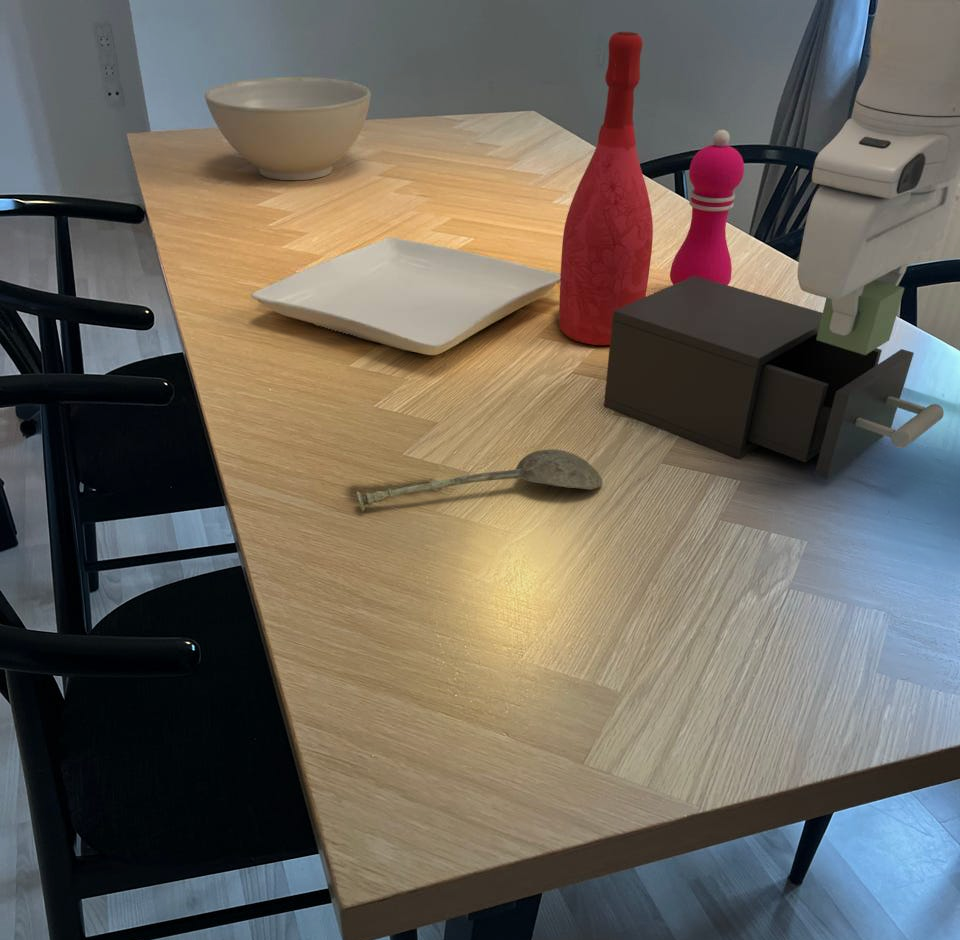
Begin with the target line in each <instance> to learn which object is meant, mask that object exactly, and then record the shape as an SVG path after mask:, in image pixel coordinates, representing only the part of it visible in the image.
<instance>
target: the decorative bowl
mask: <svg viewBox="0 0 960 940" xmlns="http://www.w3.org/2000/svg"><path fill="white" fill-rule="evenodd" d="M371 96H372V93H371V90H370V89H369V88H368V87H367V86H365V85H363V84H360V83H357V82H354V81H349V80H344V79H336V78H327V77H311V76H310V77H309V76H278V77H277V76H276V77H262V78H261V77H260V78H250V79H242V80H237V81H231V82H227V83H222V84H219V85H217V86H214V87H212V88H210V89H208V90H207V91H206V92H205V94H204V98H205V102H206V105H207V108H208V110H209V112H210V114H211V117H212V119H213V121H214V122H215V125H216V126H217V128H218V129H219V131H220V133H221V134H222V136H223V137H224V139H225V140H226V141H227V142H228V144H229V145H230V146H231V147H232V148H233V149H234V150H235V151H236V152H237V154H239V155H240V156H241V157H242V158H244V159H245V160H247V161H248V162H250V163H251V164H253V165H254V166H256V167H258V171H259V173H260V175H262V176H263V177H265V178H267V179H272V180H273V179H274V180H277V181H278V180H279V181H306V180H314V179H320V178H324V177H326V176H328V175H329V174H331V173H332V172H333V166H334V164H336V163H337V162H338V161H340V160H341V159H343V157H344V156H345V155H346V154H347V153H348V152H349V151H350V150H351V149H352V147H353V146H354V145H355V143H356V141H358V138H359V136H360V134H361V132H362V130H363V127H364V124H365V122H366V119H367V116H368V112H369V108H370V104H371Z"/></svg>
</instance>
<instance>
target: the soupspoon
mask: <svg viewBox="0 0 960 940" xmlns="http://www.w3.org/2000/svg"><path fill="white" fill-rule="evenodd" d="M512 479H513V480H514V479H515V480H516V479H520V480H524V481H526V482H527V481H528V482H530V483H531V482H532V483H535V484H536V483H537V484H541V485H549V486H554V487H561V488H571V489H572V488H573V489H583V490H595V489H599V488H600V487H602V485H603V478H602V477H601V475H600V474H599V472H598V471H597V469H596V468H595V467H593V466H592V464H591V463H589V462H588V461H586V460H585V458H582V457H581V456H579V455H577V454H575V453H572V452H569V451H566V450H562V449H556V448H555V449H551V448H550V449H549V448H548V449H541V450H536V451H533V452H530V453H528V454H527V455H525V456H524V457H522V459H521V460H520V461H519V462H518V463H517V466H516V468H515V469H508V470H499V471H489V472H482V473H474V474H470V475H469V474H468V475H463V476H459V477H453V478H452V477H451V478H448V479H447V478H446V479H441V480H436V481H431V482H425V483H420V484H414V485H410V486H404V487H399V488H395V489H392V488H391V487H389V488H388V489H387V490H386V491H384V490H383V491H382V490H377V491H375V492H374V491H373V492H372V493H370V492H365V494H364V496H363V495H362V494H361V493H360V492H359V491H356V496H357V500H358V504H359V508H360V510H361V512H365V510H366V505H368V506H369V507H370V506H372V505H373V504H374V503H375V504H376V503H377V502H382V501H384V500H386V499H387V498H390V499H394V497H396V496H397V497H398V496H402V495H407V494H412V493H413V494H414V493H418V492H425V491H431V490H437V489H444V488H449V487H455V486H460V485H466V484H472V483H473V484H474V483H479V482H480V483H481V482H489V481H499V480H512Z"/></svg>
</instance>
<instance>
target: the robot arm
mask: <svg viewBox="0 0 960 940" xmlns="http://www.w3.org/2000/svg"><path fill="white" fill-rule="evenodd" d="M855 95H856V96H855V99H854V104H853V108H852V111H851V117H850V118H849V119H847V121H846V122H845V123H844V125H842V126H843V127H842V128H841V130H839V132H838V133H837V134H836V135H835V137H834V138H833V139H832V140H831V141H829V142H828V144H827V145H825V147H823V148H822V149H821V150H820V151H819V153H818V154H817V156H816V157H815V160H814V164H813V167H812V173H811V181H812V182H813V183H815V184H817V185H820V186H819V188H817V190H816V192H815V194H814V195H813V197H812V200H811V202H810V206H809V209H808V212H807V216H806V221H805V226H804V231H803V236H802V241H801V247H800V252H799V259H798V265H797V281H798V285H799V288H800V290H801V291H803V292H804V293H808V294H810V295H814V296H817V297H821V298H825V299H826V298H829V299H831V301H832V309H833V314H832V318H831V322H830V326H829V327H830V330H831V331H832V332H833V333H836V334H840V335H843V336H845V335H847V334H849V333H851V332H852V331H854V330H855V329H856V327H857V324H858V323H857V322H858V320H859V317H860V313H861V312H860V311H857V308H858V297H859V296H861V295H862V293H863V289H864V286H865V285H866V284H868V283H870V282H872V281H874V280H877V281H881V282H885V283H889V284H892V285H896V286H899V284H900V282H901V281H902V279H903V277H904V275H905V273H906V272H907V267H908V265H909V263H910V262H912V261H913V260H915V259H917V258H919V257H920V256H923V255H924V254H926V253H928V252H930V251H932V250H934V249H936V248H937V247H939V246H940V244H941V242H942V240H943V238H944V237H945V235H946V232H947V231H948V227H949V224H950V220H951V216H952V212H953V209H954V204H955V201H956V197H957V192H958V189H959V184H960V0H878V2H877V5H876V9H875V13H874V17H873V22H872V25H871V30H870V57H869V63H868V67H867V70H866V73H865V76H864V78H863V80H862V81H861V84H860V85H859V88H858V90H857V92H856V94H855Z"/></svg>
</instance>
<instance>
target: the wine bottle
mask: <svg viewBox="0 0 960 940" xmlns="http://www.w3.org/2000/svg"><path fill="white" fill-rule="evenodd" d="M642 49H643V39H642V37H641V35H640V34H638V33H636V32H633V31H617V32H615V33H613V34H612V35H611V36H610V37H609V40H608V62H607V63H608V64H607V69H606V73H605V77H604V78H605V84H606V86H607V87H608V88H607V98H606V106H605V114H604V118H603V123H602V125H601V126H600V129H599V132H598V137H597V138H598V139H597V145H596V147H595V150H594V152H593V154H592V156H591V158H590V160H589V162H588V165H587V166H586V169H585V171H584V173H583V175H582V177H581V179H580V181H579V183H578V185H577V188H576V190H575V192H574V195H573V197H572V200H571V203H570V206H569V208H568V212H567V215H566V219H565V223H564V228H563V235H562V246H561V247H562V248H561V260H560V274H561V276H560V281H559V301H558V302H559V303H558V316H559V317H558V319H559V320H558V321H559V327H560V330H561V331H562V333H563V334H564V335H565V336H567V338H569V339H571V340H574V341H576V342H579V343H583V344H586V345H593V346H610V339H611V328H612V320H613V311H614V310H616V309H619V308H621V307H623V306H626V305H628V304H630V303H632V302H635V301H637V300H639V299H642V298H644V297H646V296H647V289H648V282H649V277H650V276H649V275H650V269H651V261H652V253H653V252H652V251H653V239H654V224H653V223H654V221H653V213H652V208H651V207H652V206H651V202H650V197H649V192H648V188H647V185H646V181H645V177H644V174H643V171H642V168H641V163H640V160H639V156H638V153H637V147H636V145H637V143H636V142H637V141H636V135H635V126H634V105H635V98H634V97H635V96H634V93H635V88H636V87H638V85H639V83H640V79H641V53H642Z"/></svg>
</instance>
